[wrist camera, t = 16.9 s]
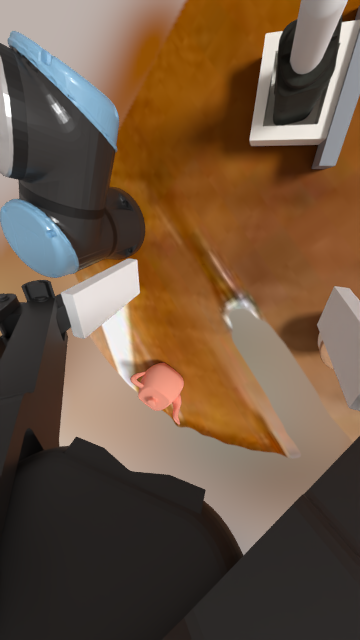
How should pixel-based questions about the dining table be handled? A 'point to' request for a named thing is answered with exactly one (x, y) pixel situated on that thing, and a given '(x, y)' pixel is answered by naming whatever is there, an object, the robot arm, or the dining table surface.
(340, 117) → the backstop wall
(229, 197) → the dining table surface
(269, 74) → the socket block
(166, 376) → the teapot
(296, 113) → the candle
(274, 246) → the dining table surface
